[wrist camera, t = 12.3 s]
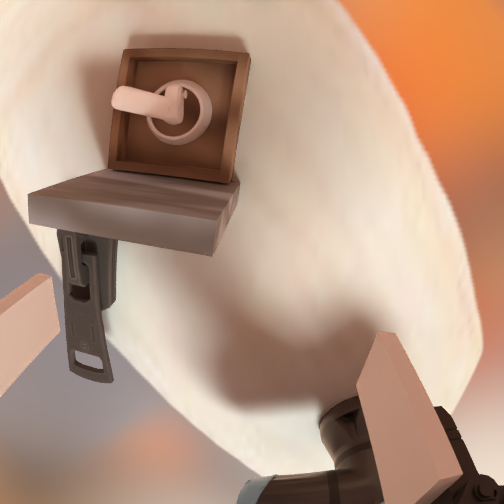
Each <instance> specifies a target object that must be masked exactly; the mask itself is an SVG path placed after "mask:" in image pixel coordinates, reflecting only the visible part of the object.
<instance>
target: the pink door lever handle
mask: <svg viewBox="0 0 504 504" xmlns="http://www.w3.org/2000/svg"><path fill="white" fill-rule="evenodd" d="M182 87H185V88H187V89H189V90H190V91H192V92H193V93H194V94H195V95H196V97H197V99H198V101H199V104H200V116H199V119H198V121H197V123H196V125H195V126H194V127H193V128H192V129H191V130H190V131H189V132H187V133H185V134H183V135H181V136H175V137H173V136H166V135H164V134H162V133H160V132H159V131H158V130H157V129H156V128H155V126H154V124H153V122H152V119H151V117H154V118H158V119H162V120H164V121H165V122H167V123H168V124H172V125H176V124H179V123H181V122H182V120H183V115H184V98H185V99H186V98H187V91H186V90H185V91H184V92H183V88H182ZM165 89H166V91H165V96H162V95H159V94H160V93H161V92H162V91H164V90H165ZM111 104H112V107H113V108H115V109H117V110H121V111H126V112H131V113H136V114H140V115H145V116H147V122H148V126H149V128H150V130H151V132H152V133H153V134H154V135H155V136H156V137H157V138H158V139H159V140H160V141H162V142H164V143H167V144H170V145H184V144H188V143H190V142H192V141H194V140H196V139H197V138H199V137H200V136H201V135H202V134H203V133H204V132H205V130H206V129H207V127H208V125H209V124H210V120H211V117H212V103H211V100H210V97H209V95H208V94H207V92H206V91H205V90H204V88H203V87H201V86H200V85H199V84H197V83H195V82H193V81H189V80H174V81H171V82H168V83H166V84H164V85H163V86H161V87H160V88H159V89H158V90H156V91H155V93H151V92H147V91H144V90H140V89H136V88H132V87H128V86H120V87H119V88H117V89H116V90H115V92H114V93H113V96H112V101H111Z"/></svg>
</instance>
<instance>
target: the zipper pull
mask: <svg viewBox="0 0 504 504" xmlns="http://www.w3.org/2000/svg"><path fill="white" fill-rule="evenodd" d="M57 237H58V242H59V247H60V252H61V257H62V275H63V290H64V308H65V326H66V339H67V352H68V360H69V368H70V371H72V372H73V373H75V374H77V375H79V376H81V377H83V378H86V379H89V380H92V381H95V382H100V383H112V382H113V380H114V379H113V375H112V369H111V364H110V360H109V356H108V350H107V345H106V339H105V333H104V327H103V321H102V314H101V311H102V310H105V309H107V308H110V306H111V305H112V304H113V303H114V302H115V300H116V262H117V244H118V240H116V239H111V238H105V237H100V236H94V235H89V234H83V233H78V232H72V231H67V230H62V229H57ZM75 350H77V351H80V352H83V353H87V354H91V355H94V356H98V357H100V359H101V360H102V363H103V369H97V368H93V367H90V366H86V365H83V364H81V363H79V362H78V361H77V360H76V358H75Z"/></svg>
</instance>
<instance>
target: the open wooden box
mask: <svg viewBox="0 0 504 504" xmlns="http://www.w3.org/2000/svg"><path fill="white" fill-rule="evenodd" d="M250 64H251V58H250V55H249V54H248V53H239V52H230V51H218V50H203V49H176V48H150V49H124V50H123V55H122V60H121V65H120V71H119V77H118V83H117V88H119V87H120V86H128V87H132V88H136V89H140V90H144V91H147V92H151V93H155V91H156V90H158V89H159V88H160V87H161V86H163V85H164V84H166V83H168V82H171V81H174V80H189V81H193V82H195V83H197V84H199V85H200V86H201V87H203V88H204V90H205V91H206V92H207V94H208V95H209V97H210V100H211V103H212V117H211V120H210V124H209V125H208V127H207V129H206V130H205V132H204V133H203V134H202V135H201V136H200V137H199V138H197V139H196V140H194V141H192V142H190V143H188V144H184V145H170V144H167V143H164V142H162V141H160V140H159V139H158V138H157V137H156V136H155V135H154V134H153V133H152V132H151V130H150V128H149V126H148V122H147V116H145V115H140V114H136V113H131V112H126V111H121V110H117V109H115V108H114V110H113V118H112V127H111V136H110V147H109V160H108V168H107V169H104V170H100V171H97V172H93V173H90V174H87V175H83V176H80V177H77V178H74V179H71V180H67V181H64V182H61V183H58V184H55V185H52V186H49V187H46V188H44V189H41V190H38V191H35V192H32V193H30V194H28V211H29V223H30V224H35V225H40V226H46V227H51V228H56V229H62V230H67V231H72V232H78V233H83V234H89V235H94V236H100V237H105V238H111V239H116V240H122V241H127V242H133V243H139V244H144V245H150V246H155V247H161V248H167V249H173V250H178V251H184V252H190V253H196V254H201V255H207V256H213V254H214V252H215V250H216V248H217V245H218V243H219V241H220V239H221V237H222V235H223V233H224V230H225V228H226V226H227V224H228V222H229V220H230V218H231V216H232V214H233V211H234V209H235V207H236V205H237V201H238V194H239V187H240V183H237V182H230V181H231V180H232V174H233V168H234V161H235V155H236V148H237V142H238V135H239V129H240V123H241V117H242V111H243V104H244V98H245V92H246V87H247V81H248V75H249V69H250ZM182 88H183V92H184V91H185V90H186V91H187V98H186V99H185V98H184V115H183V120H182V122H181V123H179V124H176V125H172V124H168V123H167V122H165V121H164V120H162V119H158V118H154V117H151V119H152V122H153V124H154V126H155V128H156V129H157V130H158V131H159V132H160V133H162V134H164V135H166V136H173V137H175V136H181V135H183V134H185V133H187V132H189V131H190V130H191V129H192V128H193V127H194V126H195V125H196V123H197V121H198V119H199V116H200V104H199V101H198V99H197V97H196V95H195V94H194V93H193V92H192V91H190V90H189V89H187V88H185V87H182ZM165 91H166V89H165V90H164V91H162V92H161V93H160V94H159V95H162V96H165Z"/></svg>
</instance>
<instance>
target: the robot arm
mask: <svg viewBox="0 0 504 504" xmlns="http://www.w3.org/2000/svg"><path fill="white" fill-rule="evenodd" d="M59 332H60V326H59V321H58V316H57V310H56V304H55V298H54V292H53V285H52V277H51V276H49V275H45V274H41V273H38V274H36V275H35V276H34V277H32V278H31V279H29V280H28V281H26V282H25V283H24V284H22V285H21V286H19V287H18V288H16V289H15V290H14V291H12V292H11V293H10V294H8V295H7V296H5V297H4V298H3V299H1V300H0V397H1V396H2V395H3V393H4V392H5V391H6V390H7V389H8V387H9V386H10V385H11V384H12V383H13V382H14V381H15V379H16V378H17V377H18V376H19V375H20V374H21V373H22V372H23V371H24V369H25V368H26V367H27V366H28V365H29V364H30V363H31V362H32V361H33V360H34V358H35V357H36V356H37V355H38V354H39V353H40V352H41V351H42V350H43V349H44V348H45V347H46V346H47V344H48V343H49V342H50V341H51V340H52V339H53V338H54V337H55V336H56V335H57V334H58V333H59ZM356 388H357V392H358V395H359V396H358V397H355V398H352V399H349V400H347V401H344V402H342V403H340V404H339V405H337V406H335V407H334V408H332V409H331V410H330V411H329V412H328V413H327V414H326V415H325V416H324V417H323V419H322V421H321V423H320V435H321V440H322V442H323V444H324V446H325V447H326V449H327V451H328V453H329V454H330V456H331V458H332V459H333V461H334V465H335V470H330V471H322V472H314V473H305V474H294V475H273V476H267V477H256V478H252V479H250V480H248V481H247V482H246V483H245V485H244V486H243V488H242V489H241V491H240V494H239V497H238V500H237V503H236V504H504V486H499V485H498V484H497V483H496V482H495V480H494V479H492V478H491V477H489V476H487V475H482V474H480V475H479V473H478V472H477V470H476V468H475V465H474V463H473V461H472V458H471V456H470V454H469V452H468V450H467V447H466V445H465V443H464V441H463V440H462V439H461V435H460V433H459V431H458V430H457V427H456V425H455V423H454V421H453V419H452V417H451V415H450V414H449V413H448V412H447V411H446V410H445V409H444V408H443V407H442V406H438V407H433V405H432V403H431V401H430V399H429V397H428V395H427V393H426V391H425V389H424V387H423V385H422V383H421V381H420V379H419V377H418V375H417V373H416V371H415V369H414V367H413V365H412V363H411V362H410V360H409V358H408V356H407V354H406V352H405V350H404V348H403V347H402V345H401V343H400V341H399V339H398V337H397V336H396V334H395V333H389V332H377V335H376V337H375V340H374V342H373V345H372V347H371V350H370V352H369V355H368V357H367V360H366V362H365V365H364V367H363V369H362V372H361V374H360V376H359V379H358V381H357V383H356Z"/></svg>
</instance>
